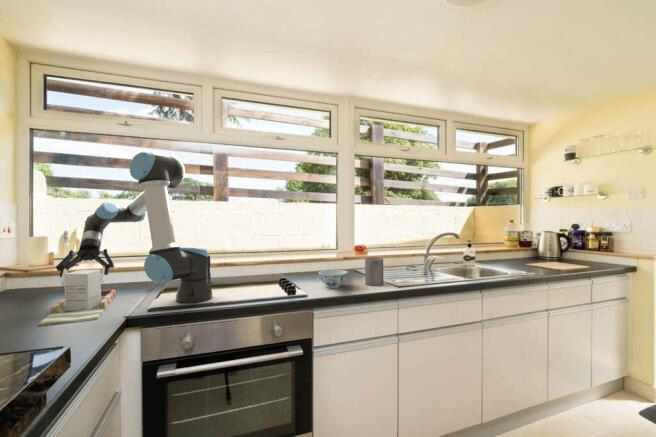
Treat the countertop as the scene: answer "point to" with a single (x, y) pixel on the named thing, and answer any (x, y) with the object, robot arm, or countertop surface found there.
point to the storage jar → (209, 270)
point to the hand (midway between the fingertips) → (82, 282)
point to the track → (78, 315)
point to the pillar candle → (374, 271)
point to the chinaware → (333, 277)
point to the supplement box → (82, 290)
